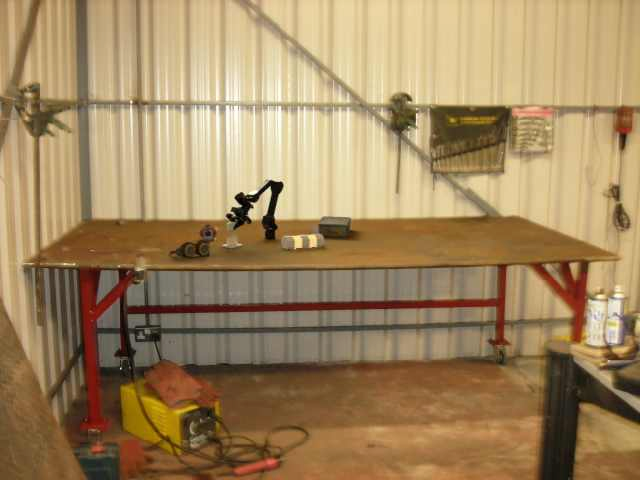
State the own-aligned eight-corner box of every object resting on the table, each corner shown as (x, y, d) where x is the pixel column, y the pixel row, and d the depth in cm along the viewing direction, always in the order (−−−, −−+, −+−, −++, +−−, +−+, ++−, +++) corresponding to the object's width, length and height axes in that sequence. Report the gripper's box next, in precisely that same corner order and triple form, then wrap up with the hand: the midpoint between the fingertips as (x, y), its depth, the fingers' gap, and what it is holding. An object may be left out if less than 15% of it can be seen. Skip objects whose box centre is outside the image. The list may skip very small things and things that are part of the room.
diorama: (317, 244, 427) (318, 224, 424) (324, 247, 417) (324, 227, 415) (281, 247, 417) (281, 227, 414) (287, 250, 408) (287, 229, 405)
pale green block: (234, 229, 418) (234, 221, 417) (237, 230, 417) (237, 222, 416) (226, 231, 413) (226, 223, 412) (229, 231, 411) (229, 223, 410)
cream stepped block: (233, 244, 423) (233, 234, 422) (242, 245, 418) (242, 235, 417) (222, 246, 415) (221, 236, 414) (230, 248, 410) (230, 238, 409)
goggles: (196, 248, 410) (195, 232, 408) (221, 254, 396) (221, 238, 393) (164, 255, 392) (163, 239, 390) (189, 262, 377) (188, 245, 375)
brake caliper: (199, 238, 429) (199, 222, 434) (199, 245, 438) (199, 229, 443) (217, 238, 431) (216, 221, 436) (216, 245, 440) (216, 229, 445)
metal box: (351, 230, 479) (351, 216, 477) (348, 238, 447) (348, 224, 445) (322, 229, 481) (322, 216, 479) (316, 237, 449) (317, 223, 447)
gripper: (227, 200, 421) (214, 219, 415) (248, 203, 410) (235, 223, 403) (236, 211, 429) (224, 230, 422) (257, 214, 417) (245, 233, 411)
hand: (232, 229), depth 415 cm, fingers closed on pale green block, 2 cm apart
